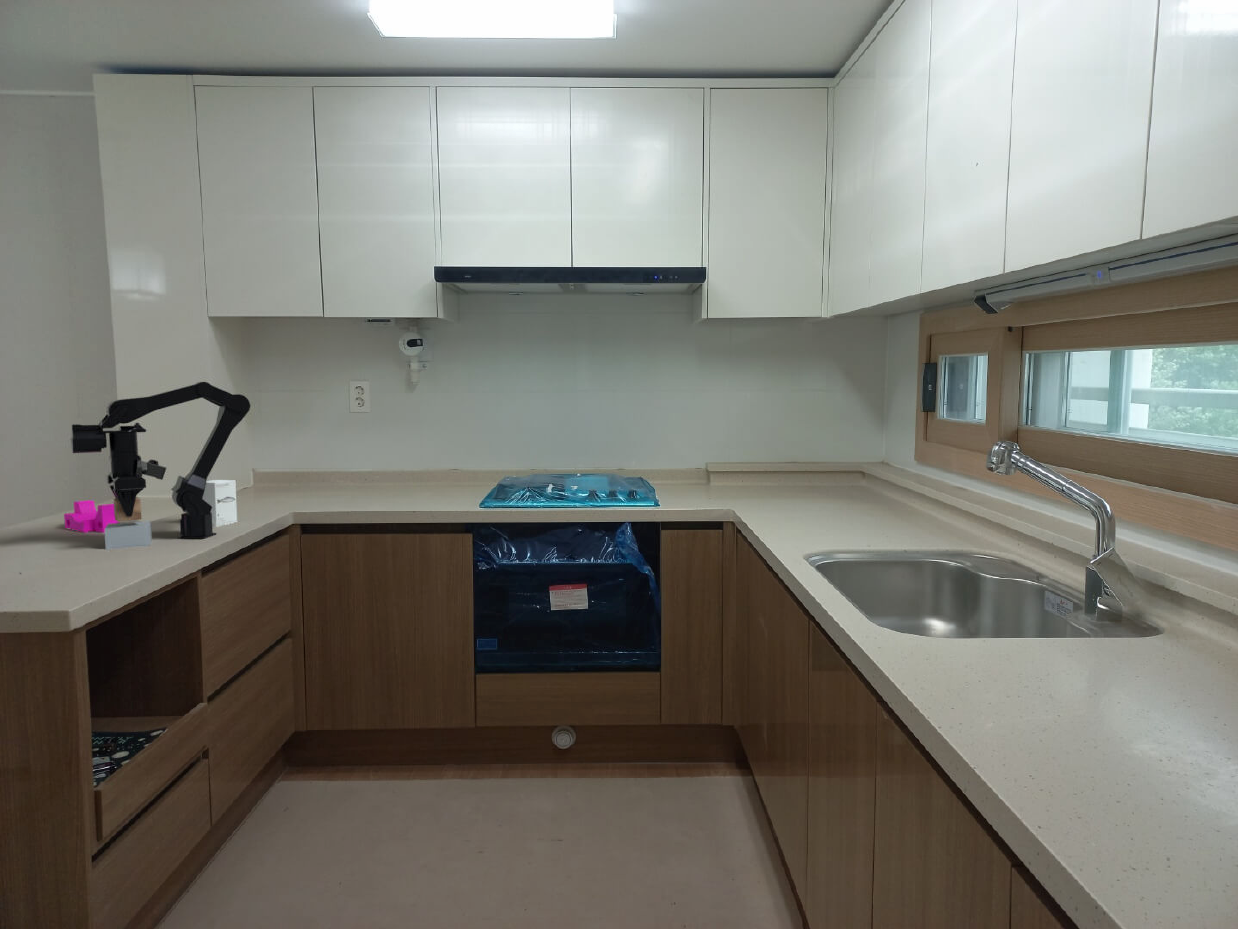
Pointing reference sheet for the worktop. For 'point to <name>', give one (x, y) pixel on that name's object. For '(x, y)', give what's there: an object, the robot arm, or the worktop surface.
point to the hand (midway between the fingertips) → (128, 515)
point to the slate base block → (128, 534)
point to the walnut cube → (121, 514)
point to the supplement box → (221, 501)
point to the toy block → (90, 517)
